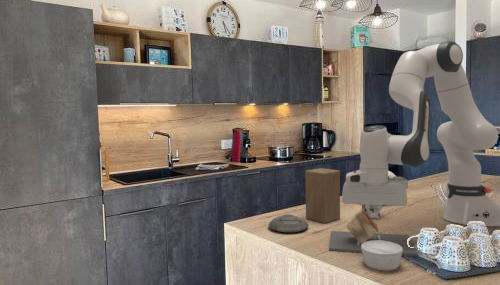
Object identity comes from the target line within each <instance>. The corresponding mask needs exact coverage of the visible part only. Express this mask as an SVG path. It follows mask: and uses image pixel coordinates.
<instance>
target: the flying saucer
mask: <svg viewBox="0 0 500 285" xmlns="http://www.w3.org/2000/svg"><path fill="white" fill-rule="evenodd" d="M268 227H269V228H270V229H271V230H274V231H277V232H279V233H280V232H281V233H296V232H301V231H304V230H306V229H308V228H309V224H308V222H307V221H306V220H305V219H304V218H302V217H299V215H298V216H297V215H295V214H283V215H278V216H276V217H274V218H273V219H272V220H270V222H269V223H268Z"/></svg>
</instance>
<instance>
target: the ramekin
mask: <svg viewBox="0 0 500 285" xmlns="http://www.w3.org/2000/svg"><path fill="white" fill-rule="evenodd" d="M361 250H362V253H361V254H362V258H363V261H364V264H365V265H366V266H367V267H369V268H371V269H373V270H377V271H385V272H386V271H393V270H397V269H398V268H399V267H400V265H401V261H402V253H403V248H402V247H401V246H400V245H398V244H396V243H393V242H389V241H382V240H373V241H367V242H364V243H363V244H362V245H361Z"/></svg>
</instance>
